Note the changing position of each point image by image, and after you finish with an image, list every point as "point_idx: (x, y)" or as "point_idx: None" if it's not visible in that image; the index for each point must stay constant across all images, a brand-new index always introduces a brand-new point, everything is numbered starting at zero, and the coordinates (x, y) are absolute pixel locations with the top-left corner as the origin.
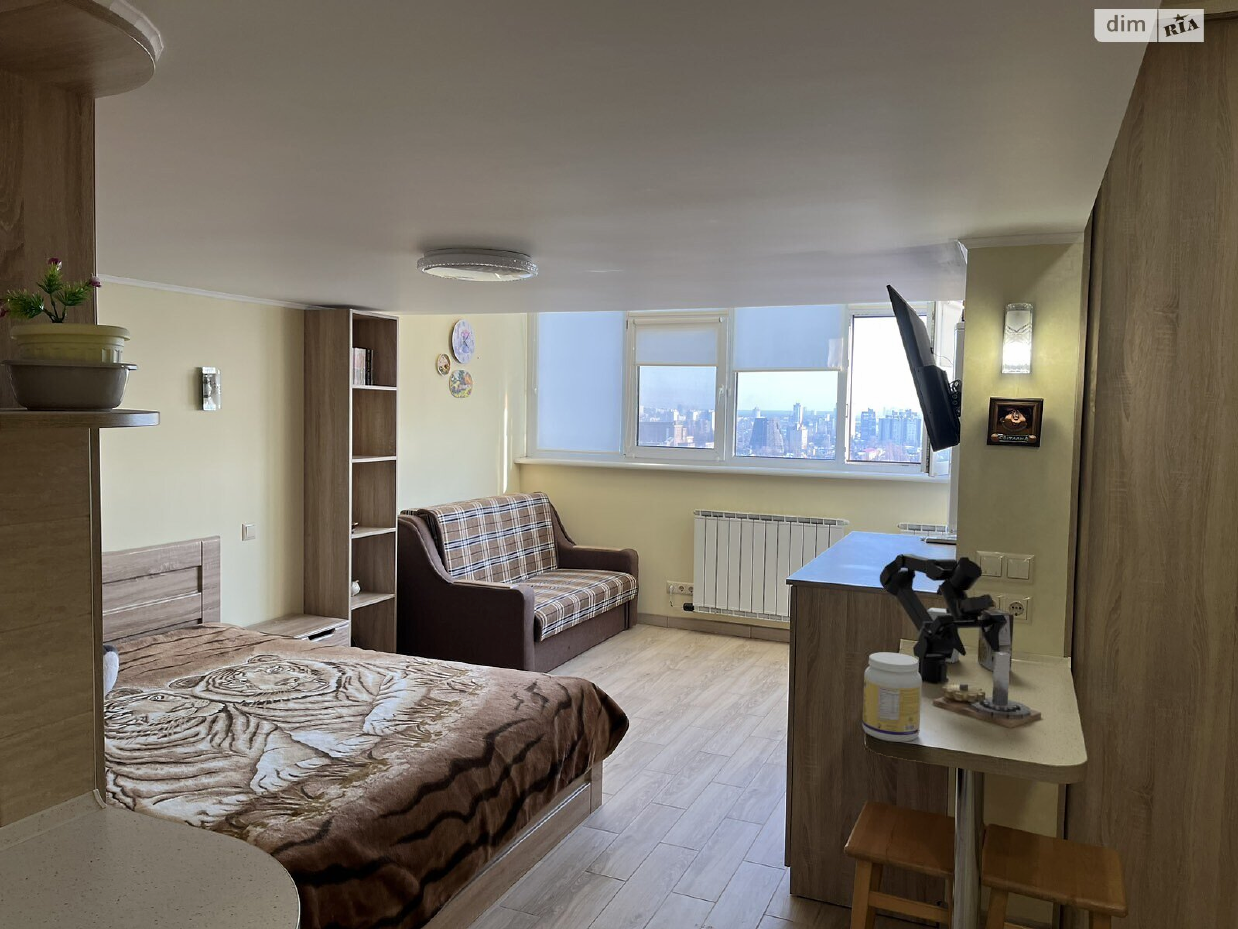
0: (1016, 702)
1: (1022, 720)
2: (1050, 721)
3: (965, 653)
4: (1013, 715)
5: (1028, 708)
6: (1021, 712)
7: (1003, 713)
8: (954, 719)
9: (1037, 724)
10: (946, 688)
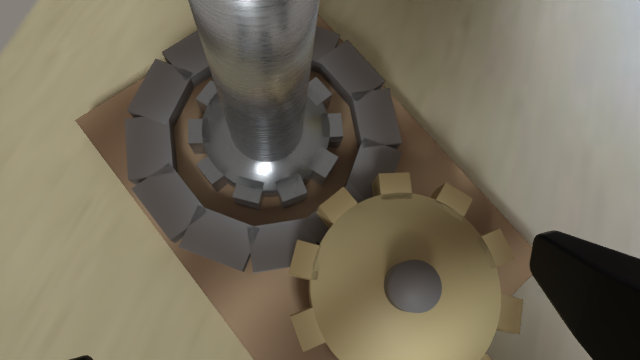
0: (149, 192)
1: None
2: (71, 85)
3: (545, 234)
4: None
5: (137, 103)
6: None
7: None
8: (476, 80)
9: (155, 46)
10: (503, 294)
